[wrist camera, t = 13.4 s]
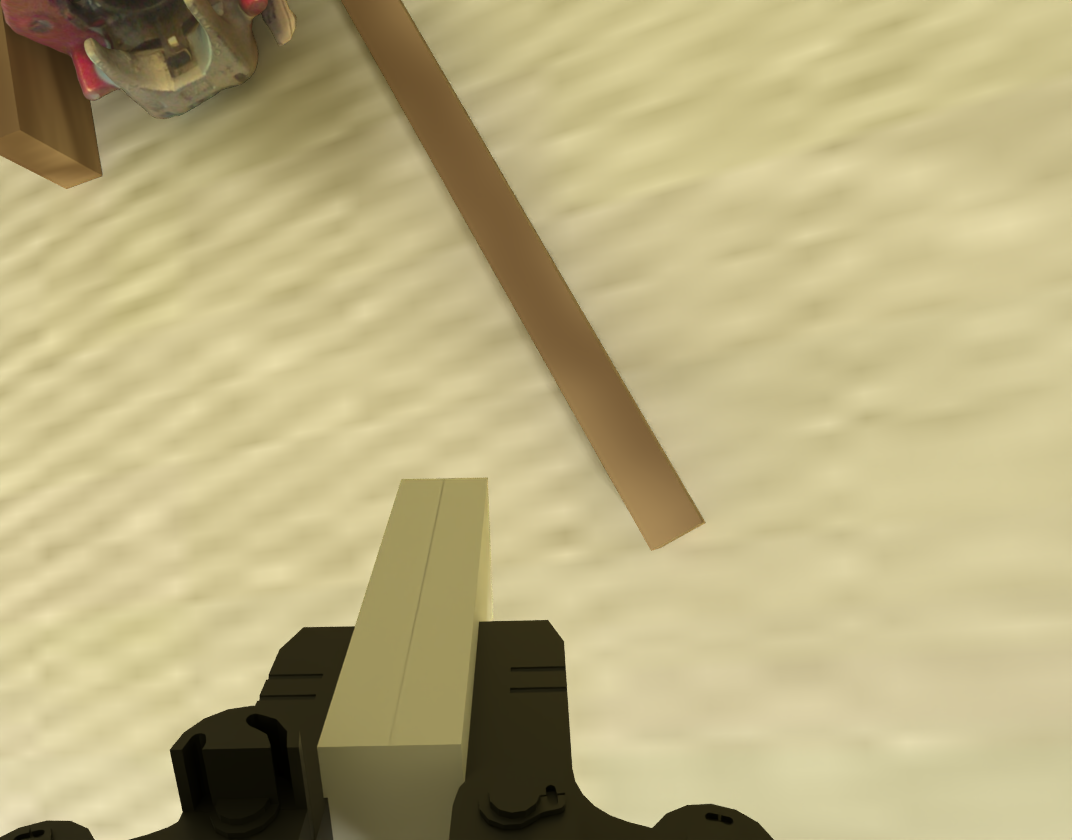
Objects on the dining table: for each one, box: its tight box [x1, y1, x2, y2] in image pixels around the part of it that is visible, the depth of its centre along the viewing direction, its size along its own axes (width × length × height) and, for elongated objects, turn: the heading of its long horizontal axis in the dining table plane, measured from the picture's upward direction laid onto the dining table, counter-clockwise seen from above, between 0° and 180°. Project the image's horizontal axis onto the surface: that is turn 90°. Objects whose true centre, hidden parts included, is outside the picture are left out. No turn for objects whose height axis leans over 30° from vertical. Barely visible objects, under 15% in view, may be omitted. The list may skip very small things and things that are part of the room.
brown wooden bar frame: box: [0, 0, 705, 551], centre depth 32 cm, size 18×43×15 cm, turn 29°
